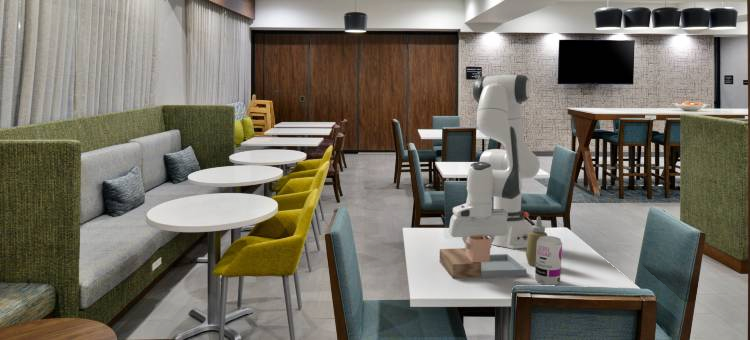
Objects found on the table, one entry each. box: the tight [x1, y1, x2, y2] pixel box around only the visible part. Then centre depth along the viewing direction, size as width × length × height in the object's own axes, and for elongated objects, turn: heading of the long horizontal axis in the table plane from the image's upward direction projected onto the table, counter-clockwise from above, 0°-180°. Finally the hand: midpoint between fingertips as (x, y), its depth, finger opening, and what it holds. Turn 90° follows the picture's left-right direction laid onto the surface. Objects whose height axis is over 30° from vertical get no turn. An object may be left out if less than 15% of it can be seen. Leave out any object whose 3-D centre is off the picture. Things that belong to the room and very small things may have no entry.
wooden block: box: [439, 247, 481, 279], centre depth 205 cm, size 10×18×5 cm, turn 8°
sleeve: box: [465, 236, 491, 262], centre depth 200 cm, size 6×8×8 cm
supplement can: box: [534, 235, 563, 286], centre depth 192 cm, size 8×8×15 cm
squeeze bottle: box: [525, 216, 548, 267], centre depth 210 cm, size 8×8×18 cm
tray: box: [480, 253, 527, 279], centre depth 206 cm, size 16×18×2 cm
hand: (477, 248), depth 200 cm, fingers closed on sleeve, 6 cm apart
